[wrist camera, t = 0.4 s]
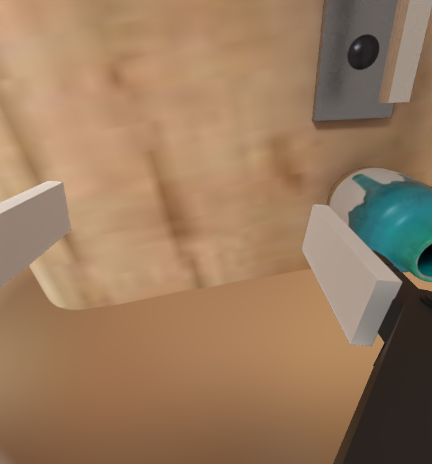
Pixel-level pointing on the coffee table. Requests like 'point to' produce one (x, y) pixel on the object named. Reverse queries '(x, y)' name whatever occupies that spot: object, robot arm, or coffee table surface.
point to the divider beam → (404, 50)
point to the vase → (388, 216)
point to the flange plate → (353, 59)
